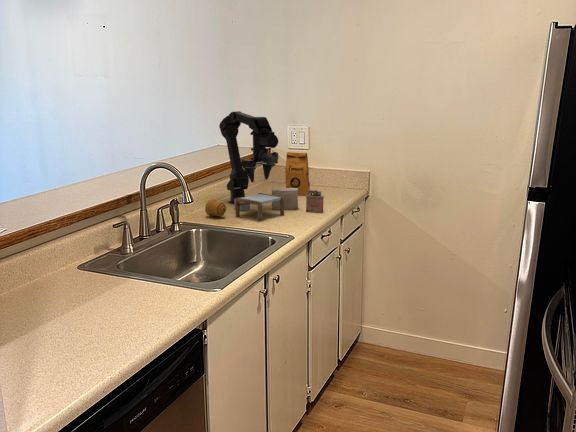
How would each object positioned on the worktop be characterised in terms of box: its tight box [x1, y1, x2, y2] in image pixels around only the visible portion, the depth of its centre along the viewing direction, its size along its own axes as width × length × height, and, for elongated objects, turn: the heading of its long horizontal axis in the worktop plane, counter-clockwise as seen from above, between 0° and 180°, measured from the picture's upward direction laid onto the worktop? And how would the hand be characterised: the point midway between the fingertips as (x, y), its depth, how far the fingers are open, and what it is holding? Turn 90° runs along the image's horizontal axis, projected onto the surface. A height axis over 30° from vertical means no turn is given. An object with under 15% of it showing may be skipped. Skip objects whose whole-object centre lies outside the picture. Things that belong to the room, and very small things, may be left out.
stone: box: [233, 197, 251, 212], centre depth 257 cm, size 5×5×5 cm
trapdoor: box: [242, 193, 281, 205], centre depth 244 cm, size 12×12×1 cm
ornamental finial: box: [204, 198, 227, 218], centre depth 242 cm, size 8×8×8 cm
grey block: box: [271, 187, 299, 210], centre depth 257 cm, size 12×4×10 cm, turn 89°
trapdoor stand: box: [235, 192, 285, 223], centre depth 245 cm, size 15×14×8 cm
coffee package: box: [284, 151, 311, 197], centre depth 286 cm, size 10×12×22 cm
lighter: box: [305, 189, 325, 214], centre depth 252 cm, size 8×3×10 cm, turn 71°
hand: (259, 180), depth 255 cm, fingers open, 9 cm apart
